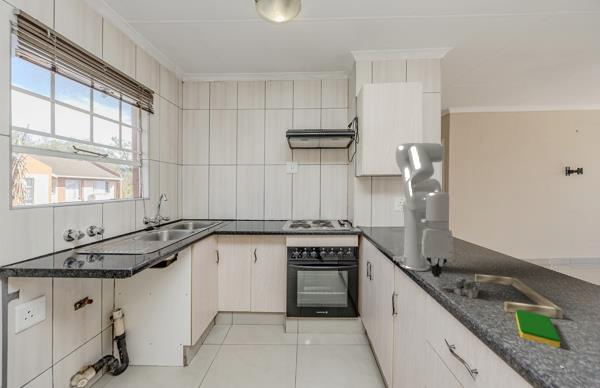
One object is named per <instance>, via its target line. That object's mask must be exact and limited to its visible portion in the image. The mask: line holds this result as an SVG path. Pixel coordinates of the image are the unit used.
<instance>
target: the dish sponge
mask: <svg viewBox="0 0 600 388" xmlns="http://www.w3.org/2000/svg"><path fill="white" fill-rule="evenodd" d="M515 319H516V323H517V328H518V332H519V337H520V338H521V337H522V339H524V338H525V339H524V340H528V341H531V340H532V342H535V341H537V342H536V343H538V342H541V343H540V344H542V343H545V344H544V345H546V344H549V345H548V346H550V345H552V346H551V347H553V346H556V347H555V348H557V347H560V348H561V338H560V336H559V335H558V332H557V330H556V328H555V326H554V324H553V321H552V320H551V317H548V316H545V315H540V314H536V313H531V312H527V311H522V310H518V309H517V310H516V313H515Z"/></svg>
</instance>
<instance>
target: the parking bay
mask: <svg viewBox="0 0 600 388" xmlns="http://www.w3.org/2000/svg"><path fill="white" fill-rule="evenodd" d="M474 282H475V283H487V284H495V285H496V284H497V285H504V286H506V285H507V286H513V287H514V288H515V289H517V290H518V291H519V292H521V293H522V294H523V295H525V296H526V297H527V298H528V299H530V300H531V301H533V302H534V303H536V304H529V303H522V302H521V303H520V302H514V301H513V302H512V301H507V300H505V301H504V307H503V308H504V311H505V312H506V313H515V314H516V310H517V309H518V310H522V311H527V312H531V313H536V314H540V315H545V316H548V317H550V318H553V319H560V320H561V319H562V320H563V315H564V310H563V309H562V308H560V307H559V306H557V305H556V304H554V303H553V302H552V301H551V300H548V299H547V298H546V297H544V296H543V295H541V294H540V293H538V292H537V291H536V290H534V289H532V287H529V286H528V285H526V284H525V283H523V282H522V281H521V280H520V279H518V278H516V277H507V276H498V275H490V274H488V275H487V274H477V273H475V274H474Z"/></svg>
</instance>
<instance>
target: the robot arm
mask: <svg viewBox="0 0 600 388" xmlns="http://www.w3.org/2000/svg"><path fill="white" fill-rule="evenodd" d="M444 158H445V149H444V147H443V145H442V144H441V143H438V142H437V143H436V142H435V143H434V142H433V143H432V142H409V143H403V144H400V145H397V147H396V150H395V161H396V164H397V166H398V168H399V170H400V174H401V180H402V186H403V193H404V199H405V201H403V204H402V213H403V220H404V221H403V223H404V226H403V227H404V228H403V229H404V230H403V232H404V233H403V234H404V235H403V236H404V237H403V254H402V255H400V256H397V255H394V256H392V259H393V261H396V262H399V266H400V267H402V268H403V269H406V270H409V271H416V272H425V271H430V270H431V272H430V273H431V274H432V276H433V278H440V276H441V275H442V267H443V265H445V264H446V263H450V262H454V255H455V254H454V253H455V252H454V251H455V248H454V247H455V246H454V238H453V232H452V230H451V229H450V195H449V193H448V192H445V191H443V190H442V187H441V186H442V185H441V183H440V181H439V180H437V179H436V178H431V177H433V175H434V173H435V169H434V164H433V163H441V162H442V161H443V160H444ZM423 220H424V221H423ZM435 259H437V262H436V260H435ZM427 262H429V264H427ZM430 265H431V266H430ZM430 267H431V268H430Z"/></svg>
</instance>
